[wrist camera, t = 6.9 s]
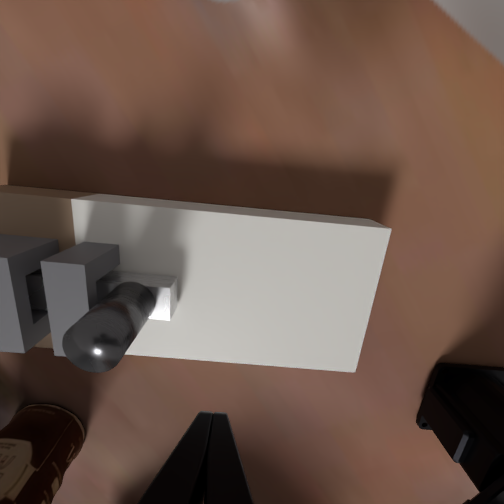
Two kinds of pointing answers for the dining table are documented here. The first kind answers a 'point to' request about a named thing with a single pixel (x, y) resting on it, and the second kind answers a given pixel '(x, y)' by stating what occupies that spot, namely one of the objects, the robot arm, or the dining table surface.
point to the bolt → (111, 315)
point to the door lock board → (194, 275)
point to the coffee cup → (37, 453)
